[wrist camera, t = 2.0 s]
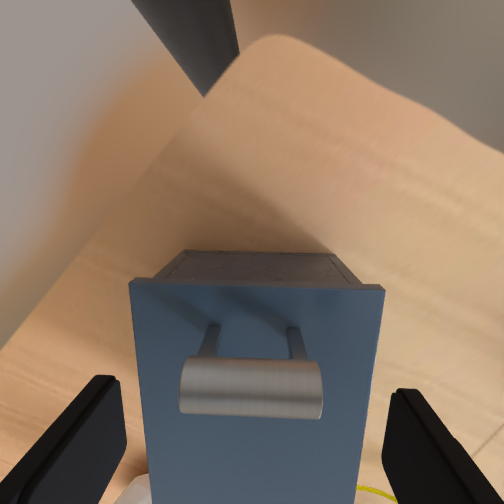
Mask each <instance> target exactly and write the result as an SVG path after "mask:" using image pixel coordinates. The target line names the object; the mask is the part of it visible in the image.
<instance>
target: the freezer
mask: <svg viewBox="0 0 504 504" xmlns="http://www.w3.org/2000/svg"><path fill="white" fill-rule="evenodd" d="M153 278H172V279H207V280H242V281H277V282H312V283H347V284H362V282H361V281H360V280H359V279H358V278H357V277H356V276H355V275H354V274H353V273H352V272H351V271H350V270H349V269H348V268H347V267H346V265H345V264H344V263H343V262H342V261H341V260H340V259H339V258H338V257H337V256H336V255H335V254H319V253H279V252H239V251H199V250H183V251H182V252H181V253H180V254H179V255H177V256H176V257H175V258H174V259H173V260H172V261H171V262H170V263H169V264H167V265H166V266H165V267H164V268H163V269H162V270H161V271H160V272H158V273H157V274H156V275H155V276H154V277H153Z"/></svg>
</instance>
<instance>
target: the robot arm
mask: <svg viewBox="0 0 504 504" xmlns="http://www.w3.org/2000/svg"><path fill="white" fill-rule="evenodd" d="M126 445H127V438H126V430H125V421H124V413H123V404H122V396H121V387H120V382H119V380H116V378H115V376H113V375H96V376H94V377H93V378H92V379H91V381H90V382H89V383H88V384H87V385H86V386H85V387H84V389H83V390H82V391H81V392H80V393H79V394H78V395H77V396H76V398H75V399H74V400H73V401H72V402H71V403H70V404H69V406H68V407H67V408H66V409H65V410H64V411H63V412H62V414H61V415H60V416H59V417H58V418H57V419H56V420H55V422H54V423H53V424H52V425H51V426H50V427H49V428H48V429H47V430H46V431H45V433H44V434H43V435H42V436H41V437H40V438H39V439H38V441H37V442H36V443H35V444H34V445H33V446H32V447H31V449H30V450H29V451H28V452H27V453H26V454H25V455H24V456H23V458H22V459H21V460H20V461H19V462H18V463H17V464H16V466H15V467H14V468H13V469H12V470H11V471H10V472H9V474H8V475H7V476H6V477H5V478H4V479H3V480H2V481H1V483H0V504H98V503H99V501H100V499H101V497H102V495H103V493H104V492H105V490H106V488H107V486H108V484H109V482H110V480H111V478H112V476H113V474H114V472H115V470H116V468H117V466H118V465H119V463H120V461H121V459H122V457H123V455H124V453H125V450H126ZM381 457H382V464H383V468H384V471H385V473H386V475H387V478H388V480H389V483H390V485H391V487H392V490H393V492H394V495H395V497H396V499H397V502H398V504H504V501H503V500H502V499H501V497H500V496H499V495H498V493H497V492H496V491H495V489H494V488H493V487H492V485H491V484H490V483H489V481H488V480H487V479H486V477H485V476H484V475H483V473H482V472H481V471H480V469H479V468H478V467H477V465H476V464H475V463H474V461H473V460H472V459H471V457H470V456H469V455H468V453H467V452H466V451H465V449H464V448H463V447H462V445H461V444H460V443H459V442H458V441H457V440H456V439H455V438H454V437H453V436H452V435H451V433H450V432H449V431H448V429H447V428H446V427H445V425H444V424H443V422H442V421H441V420H440V418H439V417H438V416H437V414H436V413H435V412H434V410H433V409H432V408H431V406H430V405H429V404H428V402H427V401H426V399H425V398H424V397H423V395H422V394H421V393H420V392H419V391H418V390H417V389H406V388H398V389H397V391H396V393H392V395H391V400H390V406H389V412H388V418H387V425H386V431H385V437H384V443H383V449H382V456H381Z"/></svg>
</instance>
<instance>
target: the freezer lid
mask: <svg viewBox="0 0 504 504" xmlns="http://www.w3.org/2000/svg"><path fill="white" fill-rule="evenodd" d="M129 292H130V301H131V311H132V320H133V330H134V339H135V348H136V358H137V367H138V377H139V386H140V395H141V405H142V414H143V424H144V433H145V443H146V452H147V461H148V471H149V480H150V490H151V499H152V504H354V499H355V493H356V486H357V479H358V473H359V466H360V459H361V453H362V446H363V439H364V433H365V426H366V419H367V413H368V406H369V399H370V393H371V386H372V379H373V372H374V366H375V359H376V352H377V346H378V339H379V332H380V326H381V319H382V312H383V306H384V299H385V292H386V290H385V289H384V288H383V287H382V286H381V285H379V284H347V283H312V282H277V281H242V280H207V279H172V278H137V277H136V278H134V279H133V280H132V281H130V282H129Z"/></svg>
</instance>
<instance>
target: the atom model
mask: <svg viewBox="0 0 504 504" xmlns="http://www.w3.org/2000/svg"><path fill="white" fill-rule="evenodd" d="M356 490H363V491H369V492H373V493H376V494H379V495H381V496H384V497H386V498H388V499H390V500H392V501H394V502H396V503H398V502H397V499H396V498H395V497H393V496H391V495H389V494H387V493H385V492H383V491H380V490H377V489H374V488H371V487H367V486H360V485H357V486H356Z"/></svg>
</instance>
